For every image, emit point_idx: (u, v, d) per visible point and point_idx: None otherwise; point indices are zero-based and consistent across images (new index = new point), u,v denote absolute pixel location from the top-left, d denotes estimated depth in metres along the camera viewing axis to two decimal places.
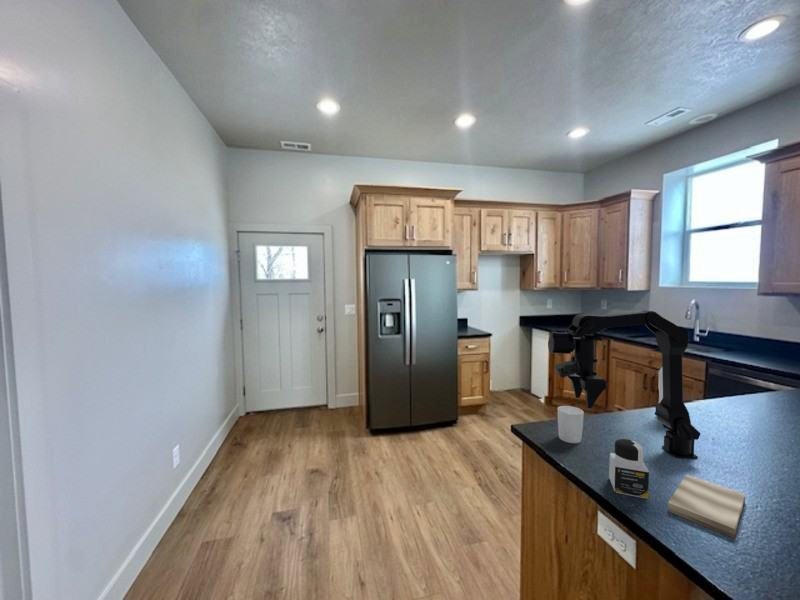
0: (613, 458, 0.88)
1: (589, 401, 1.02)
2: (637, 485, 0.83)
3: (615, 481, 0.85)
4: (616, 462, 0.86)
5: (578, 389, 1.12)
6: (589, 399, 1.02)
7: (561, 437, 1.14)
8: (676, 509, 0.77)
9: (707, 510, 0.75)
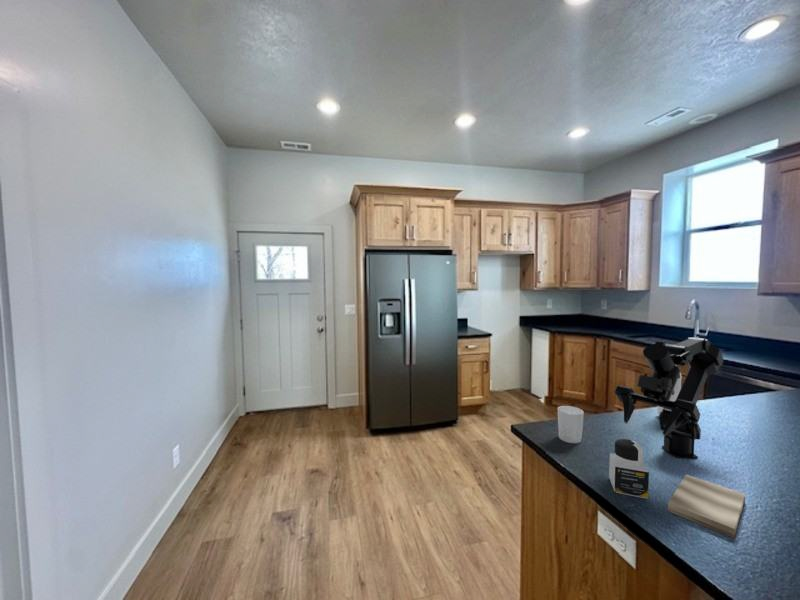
0: (613, 458, 0.88)
1: (670, 427, 0.87)
2: (637, 485, 0.83)
3: (615, 481, 0.85)
4: (616, 462, 0.86)
5: (629, 414, 0.96)
6: (672, 425, 0.88)
7: (561, 437, 1.14)
8: (676, 509, 0.77)
9: (707, 510, 0.75)
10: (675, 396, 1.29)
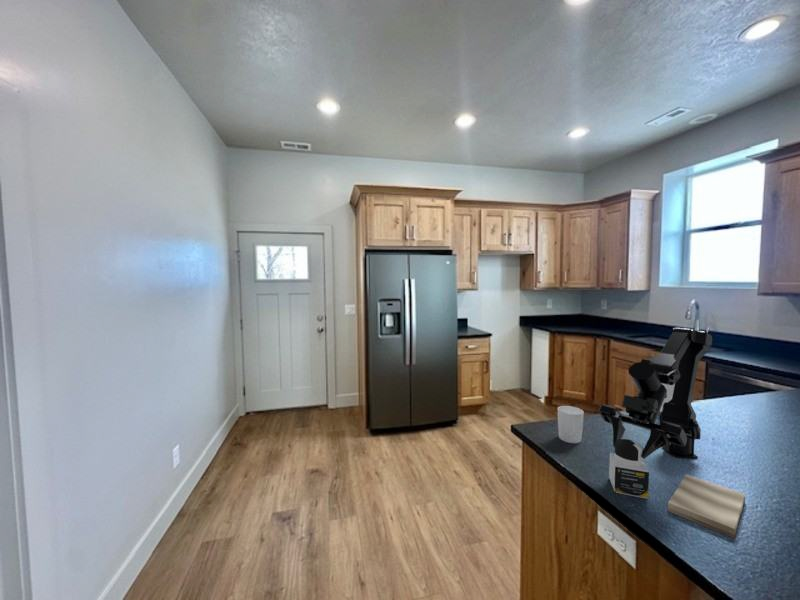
0: (613, 458, 0.88)
1: (649, 450, 0.83)
2: (637, 485, 0.83)
3: (615, 481, 0.85)
4: (616, 462, 0.86)
5: (618, 438, 0.90)
6: (651, 447, 0.83)
7: (561, 437, 1.14)
8: (676, 509, 0.77)
9: (707, 510, 0.75)
10: None
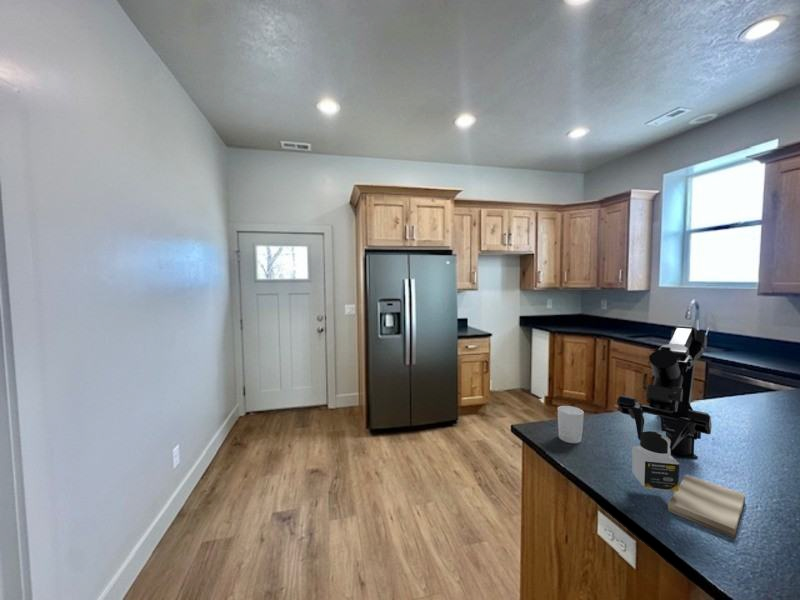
0: (639, 452, 0.84)
1: (677, 440, 0.81)
2: (668, 479, 0.80)
3: (645, 476, 0.81)
4: (644, 456, 0.82)
5: (641, 429, 0.87)
6: (678, 437, 0.81)
7: (561, 437, 1.14)
8: (676, 509, 0.77)
9: (707, 510, 0.75)
10: None
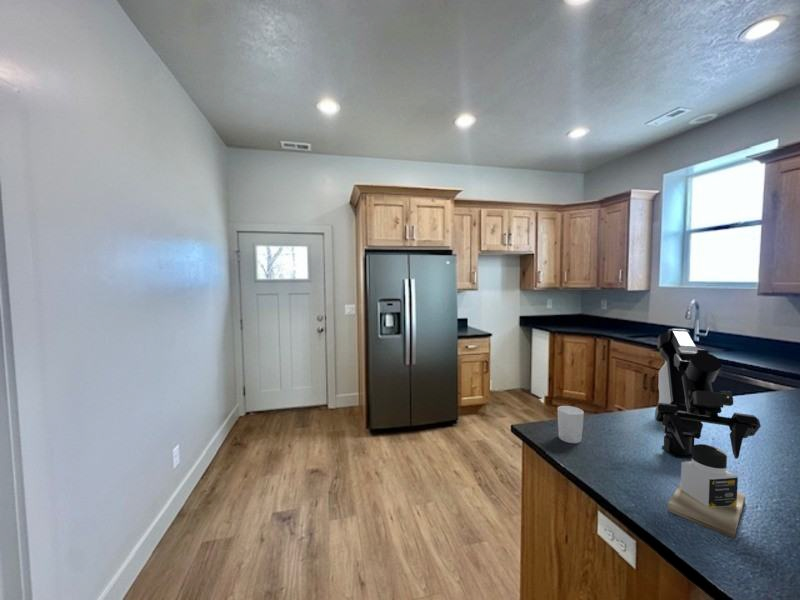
0: (695, 468, 0.79)
1: (739, 448, 0.77)
2: (729, 494, 0.76)
3: (709, 495, 0.76)
4: (705, 473, 0.77)
5: None
6: (740, 445, 0.77)
7: (561, 437, 1.14)
8: (676, 509, 0.77)
9: (707, 510, 0.75)
10: None
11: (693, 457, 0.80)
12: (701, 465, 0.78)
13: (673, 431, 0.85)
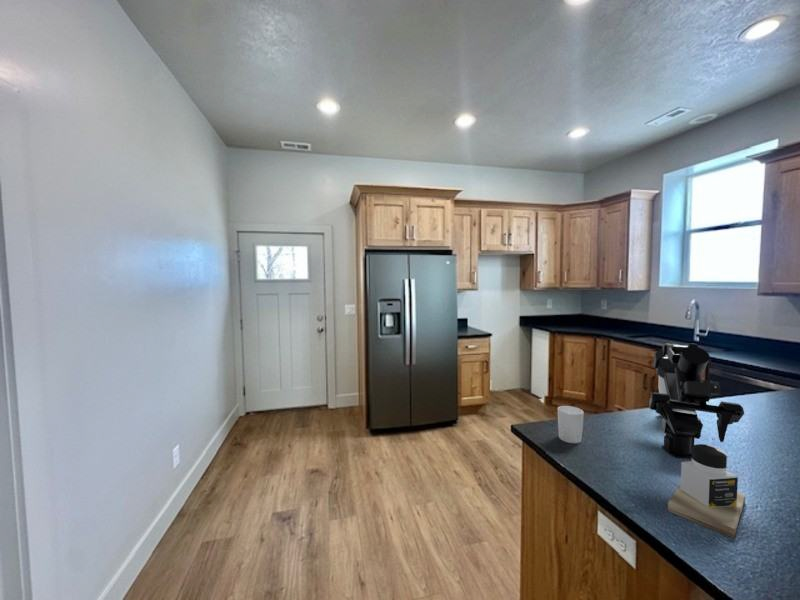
0: (695, 468, 0.79)
1: None
2: (729, 494, 0.76)
3: (709, 495, 0.76)
4: (705, 473, 0.77)
5: None
6: (725, 430, 0.85)
7: (561, 437, 1.14)
8: (676, 509, 0.77)
9: (707, 510, 0.75)
10: None
11: (693, 457, 0.80)
12: (701, 465, 0.78)
13: (665, 418, 0.93)
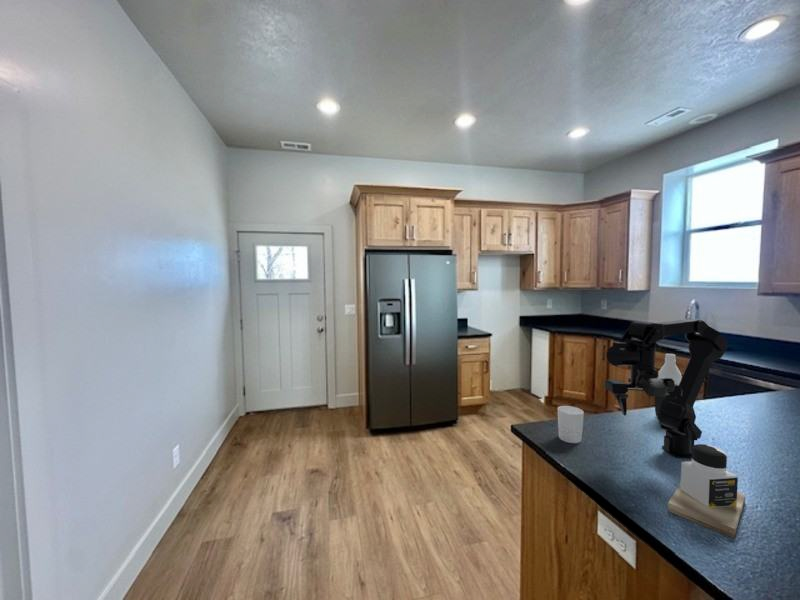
0: (695, 468, 0.79)
1: None
2: (729, 494, 0.76)
3: (709, 495, 0.76)
4: (705, 473, 0.77)
5: None
6: None
7: (561, 437, 1.14)
8: (676, 509, 0.77)
9: (707, 510, 0.75)
10: None
11: (693, 457, 0.80)
12: (701, 465, 0.78)
13: (617, 398, 1.03)
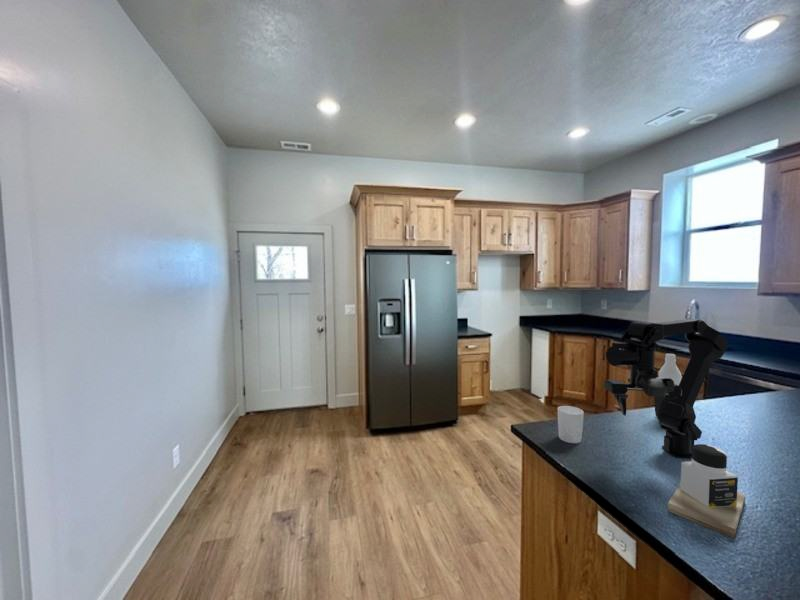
0: (695, 468, 0.79)
1: None
2: (729, 494, 0.76)
3: (709, 495, 0.76)
4: (705, 473, 0.77)
5: None
6: None
7: (561, 437, 1.14)
8: (676, 509, 0.77)
9: (707, 510, 0.75)
10: None
11: (693, 457, 0.80)
12: (701, 465, 0.78)
13: (617, 398, 1.03)
